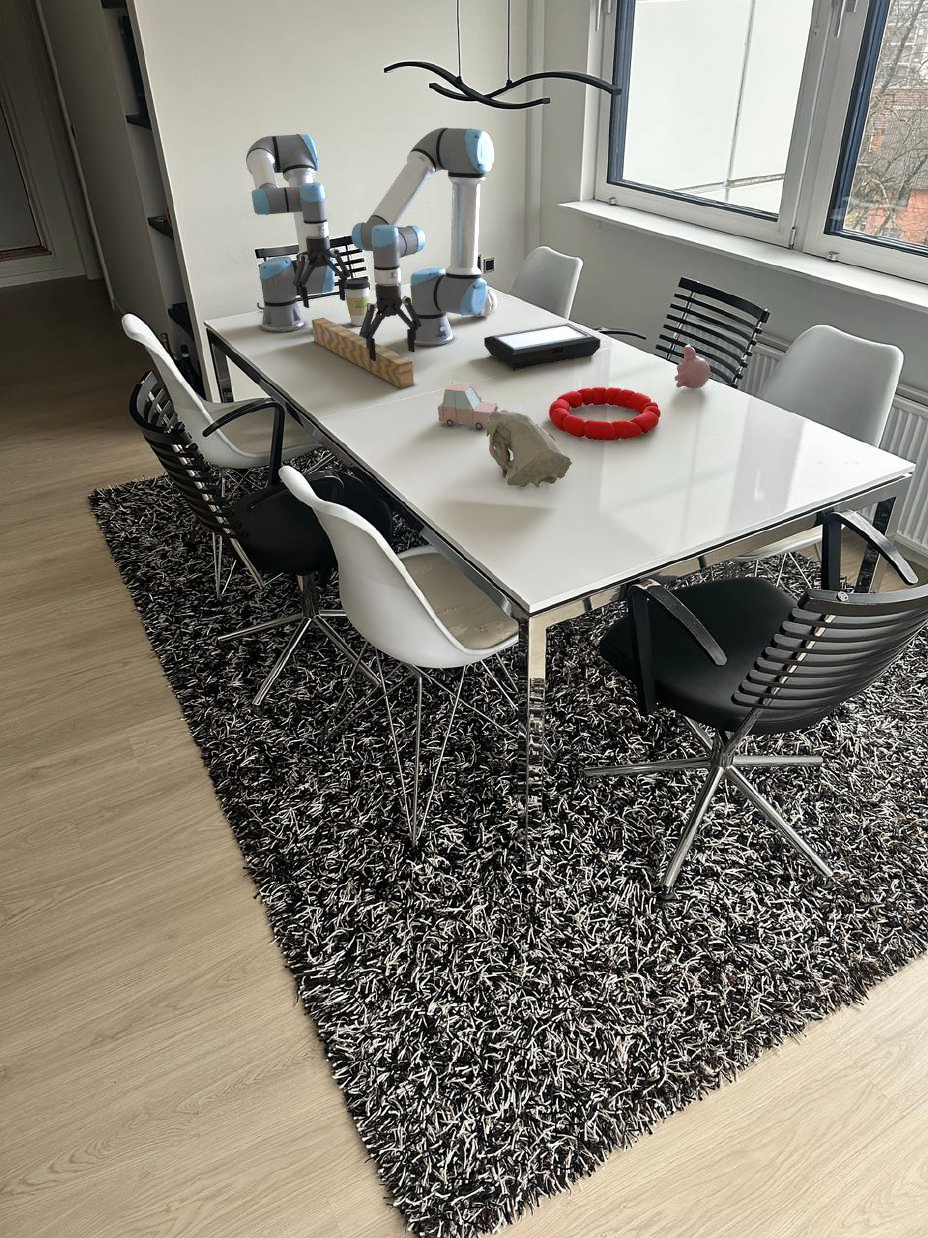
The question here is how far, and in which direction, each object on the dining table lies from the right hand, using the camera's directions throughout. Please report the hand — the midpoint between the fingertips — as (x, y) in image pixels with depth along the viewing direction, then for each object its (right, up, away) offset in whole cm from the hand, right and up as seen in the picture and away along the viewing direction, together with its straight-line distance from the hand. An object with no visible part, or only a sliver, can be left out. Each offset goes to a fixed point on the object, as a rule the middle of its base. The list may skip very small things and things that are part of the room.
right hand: (392, 355), depth 271 cm
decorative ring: (+60, -26, -28) cm, 71 cm away
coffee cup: (-16, +28, +56) cm, 65 cm away
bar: (-12, +4, +20) cm, 24 cm away
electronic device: (+47, +6, +20) cm, 52 cm away
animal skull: (+36, -44, -51) cm, 76 cm away
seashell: (+29, +32, +58) cm, 72 cm away
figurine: (+89, -12, -9) cm, 90 cm away
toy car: (+23, -26, -26) cm, 43 cm away
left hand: (-25, +26, +28) cm, 45 cm away
